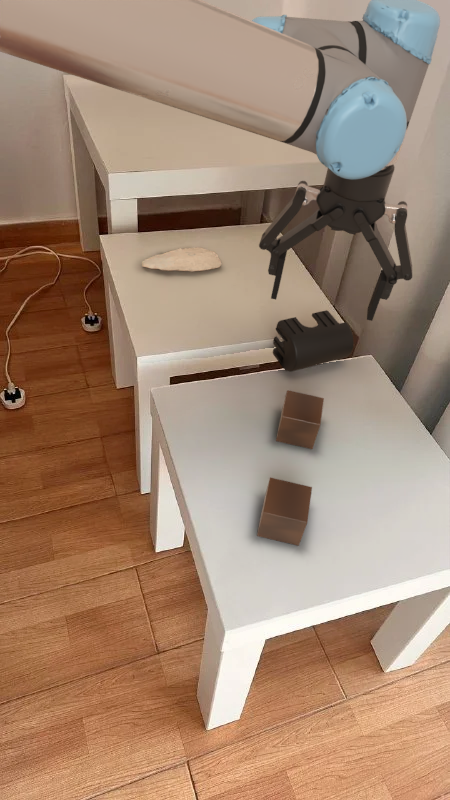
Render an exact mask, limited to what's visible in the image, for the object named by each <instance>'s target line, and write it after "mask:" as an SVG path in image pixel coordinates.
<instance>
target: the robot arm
mask: <svg viewBox="0 0 450 800" xmlns="http://www.w3.org/2000/svg"><path fill="white" fill-rule="evenodd" d="M362 15H363V16H362V20H352V21H345V20H333V19H322V18H321V19H320V18H308V17H307V18H306V17H296V16H288V15H287V14H281V15H275V16H274V15H271V16H270V15H269V16H257V17H254V18H252V20H251V19H248V18H246V17H244V16H241V15H238V14H236V13H233V12H231V11H229V10H226V9H225V8H221V7H219V6H217V5H214V4H212V3H209V2H207V1H204V0H0V53H3V54H6V55H9V56H11V57H12V56H13V57H15V58H18V59H22V60H24V61H28V62H31V63H34V64H37V65H40V66H44V67H47V68H49V69H52V70H56V71H60V72H62V73H65V74H69V75H71V76H75V77H78V78H81V79H83V80H87V81H90V82H93V83H97V84H99V85H103V86H105V87H109V88H112V89H115V90H118V91H121V92H124V93H128V94H131V95H134V96H137V97H140V98H143V99H147V100H149V101H153V102H155V103H158V104H162V105H165V106H168V107H171V108H174V109H177V110H181V111H183V112H187V113H190V114H193V115H196V116H199V117H202V118H205V119H209V120H212V121H215V122H218V123H221V124H225V125H227V126H231V127H232V128H233V127H234V128H236V129H239V130H242V131H246V132H249V133H252V134H256V135H259V136H261V137H265V138H268V139H270V140H274V141H277V142H280V143H284V144H286V145H290V146H292V147H295V148H298V149H300V150H303V151H307V152H309V153H312V154H314V155H316V157H317V160H318V161H319V162H320V164H322V165H323V166H324V167H325V168H327V169H326V170H327V171H326V173H325V177H324V182H323V185H322V187H321V188H320V189H318V188H315V187H312V186H309V184H308V182H307V181H306V180H300V181H299V182H298V183H297V187H296V190H295V193H294V195H293V197H292V198H291V199H290V201H288V202H287V204H286V205H285V206H284V208H283V209H282V210H281V211H280V212H279V214H278V215H277V216H276V218H275V219H273V221H272V222H271V223H270V224H269V226H268V227H267V228H266V229H265V231H263V233H262V235H261V237H260V241H259V244H258V247H259V249H260V250H262V251H265V250H266V251H268V252H269V253H270V259H269V264H268V269H267V273H268V275H270V276H274V281H273V286H272V290H271V291H272V292H271V295H270V299H272V300H277V298H278V294H279V290H280V285H281V281H282V276H283V271H284V266H285V262H286V258H287V253H288V251H289V250H290V249H292V248H293V247H294V246H296V245H298V244H299V243H301V242H302V241H304V240H305V239H306V238H308V237H310V236H311V235H313V234H314V233H316V232H319V231H321V230H323V229H324V228H325V227H327V226H328V228H330V230H331V231H335V232H345V233H347V234H350V235H356V234H358V233H359V234H360V233H361V234H362V236H363V238H364V240H365V241H366V242H367V243H368V244H369V246H370V248H371V250H372V252H373V255H374V256H375V257H376V261H377V262H378V264H379V266H380V267H381V270H380V272H379V275H378V278H377V280H376V284H375V286H374V289H373V291H372V294H371V297H370V299H369V300H370V301H369V303H368V306H367V311H366V320H367V321H371V322H372V321H373V320H374V317H375V314H376V311H377V310H378V306H379V304H380V301H381V300H386V301H387V300H388V299H389V298H390V296H391V294H392V290H393V288H394V286H395V285H396V284H397V283H398V281H399V280H404V281H411V280H412V279H413V262H412V257H411V250H410V244H409V239H408V233H407V226H406V223H407V220H408V204H407V202H406V201H404V200H403V201H402V200H401V201H399V202H398V203H397V204H395V203H386V196H387V193H388V191H389V188H390V184H391V182H392V178H393V175H394V172H395V164H396V163H397V162H398V160H399V157H400V153H401V151H402V147H403V144H404V141H405V138H406V135H407V132H408V129H409V125H410V121H411V119H412V116H413V113H414V110H415V107H416V105H417V101H418V99H419V95H420V92H421V89H422V86H423V83H424V80H425V77H426V75H427V71H428V69H429V66H430V65H431V64H432V57H433V54H434V51H435V50H434V49H435V46H436V43H437V39H438V33H439V29H440V25H441V18H440V17H441V16H440V14H439V12H438V11H437V10H436V9H435V8H434V7H433V6H432V5H429V4H428V3H426V2H424V1H421V0H370V1H369V2H368V4H367V6H366V8H365V12H364V13H363V14H362ZM312 201H315V202H316V205H317V207H318V209H316V210H315V211H314V212H313V213H312V214H311V215H310V216H308V217H307V218H305V219H304V220H303V221H301V222H300V223H298V224H297V225H296V226H294V227H293V228H291V229H289V230H288V231H287V232H286V233H284V234H283V235H281V236H280V237H278V236H279V235H280V234H281V233H282V232H283V231H284V229H285V228H286V227H287V226H288V225H289V224H290V222H291V221H292V220H293V219H294V218H295V216H297V214H298V213H299V211H300V210H301V208H302V207H303V206H307V205H309V204H310V203H311V202H312ZM383 216H387V218H388V222H389V223H390V224H392V225H394V236H395V242H396V243H395V244H396V247H397V248H396V249H397V253H398V259H399V265H397V263H396V261H395V260H394V258H393V256H392V253H391V251H390V249H389V248H388V246H387V244H386V242H385V240H384V238H383V236H382V235H381V234H382V233H380V230H379V228H378V225H377V221H379V220H380V219H381V218H382V217H383Z"/></svg>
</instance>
